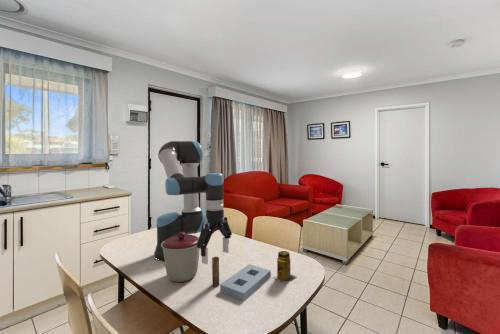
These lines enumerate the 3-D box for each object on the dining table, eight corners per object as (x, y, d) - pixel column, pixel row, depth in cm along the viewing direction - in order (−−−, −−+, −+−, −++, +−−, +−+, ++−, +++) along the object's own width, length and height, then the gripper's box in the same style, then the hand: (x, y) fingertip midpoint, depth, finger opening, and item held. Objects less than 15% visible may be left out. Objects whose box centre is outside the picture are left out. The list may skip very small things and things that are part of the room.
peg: (211, 285, 107) (210, 258, 107) (215, 282, 110) (215, 256, 109) (216, 287, 106) (215, 260, 105) (220, 284, 108) (220, 257, 107)
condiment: (273, 278, 113) (273, 252, 113) (284, 271, 119) (284, 247, 118) (285, 284, 108) (285, 257, 107) (297, 277, 114) (297, 252, 113)
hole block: (220, 291, 103) (220, 284, 102) (249, 270, 121) (249, 264, 121) (243, 300, 96) (243, 293, 96) (270, 276, 114) (270, 270, 114)
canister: (155, 286, 106) (153, 239, 105) (170, 267, 124) (169, 226, 123) (196, 287, 106) (195, 239, 104) (205, 267, 124) (205, 226, 122)
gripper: (200, 216, 93) (201, 271, 94) (238, 204, 114) (239, 249, 115) (186, 213, 97) (188, 266, 98) (226, 203, 118) (226, 246, 119)
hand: (215, 257), depth 107 cm, fingers open, 13 cm apart
